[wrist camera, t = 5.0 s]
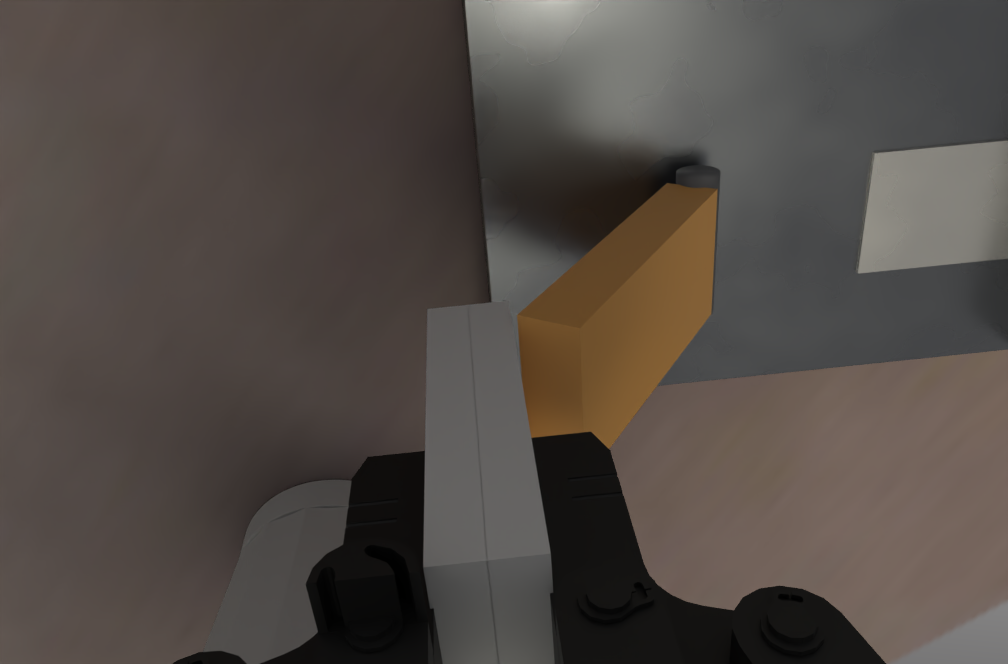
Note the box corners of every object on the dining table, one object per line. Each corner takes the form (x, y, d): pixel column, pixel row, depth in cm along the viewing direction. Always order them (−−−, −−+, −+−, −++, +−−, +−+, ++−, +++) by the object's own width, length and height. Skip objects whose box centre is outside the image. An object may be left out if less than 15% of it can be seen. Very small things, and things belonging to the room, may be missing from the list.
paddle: (677, 297, 22) (529, 471, 16) (680, 162, 20) (516, 304, 15) (722, 305, 22) (585, 489, 16) (730, 168, 20) (579, 317, 14)
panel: (493, 347, 26) (508, 455, 21) (439, -250, 19) (441, -288, 14) (1007, 295, 26) (1133, 388, 22) (1151, -308, 19) (1388, -363, 14)
